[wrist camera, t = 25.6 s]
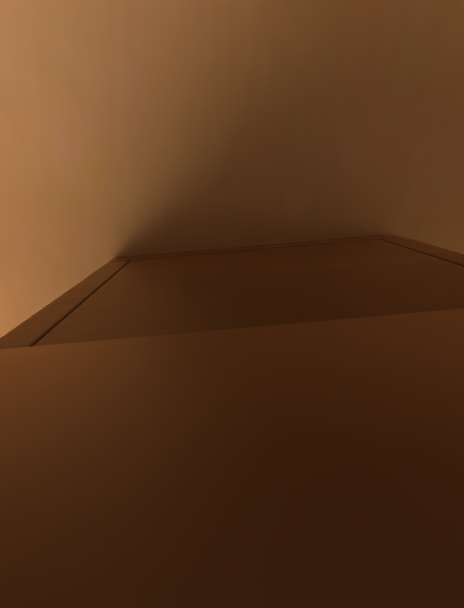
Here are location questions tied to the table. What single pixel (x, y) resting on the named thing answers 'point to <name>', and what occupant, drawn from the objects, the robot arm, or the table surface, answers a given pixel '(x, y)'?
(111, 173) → the table surface
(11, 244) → the table surface
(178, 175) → the table surface
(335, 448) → the lid
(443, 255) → the chest
